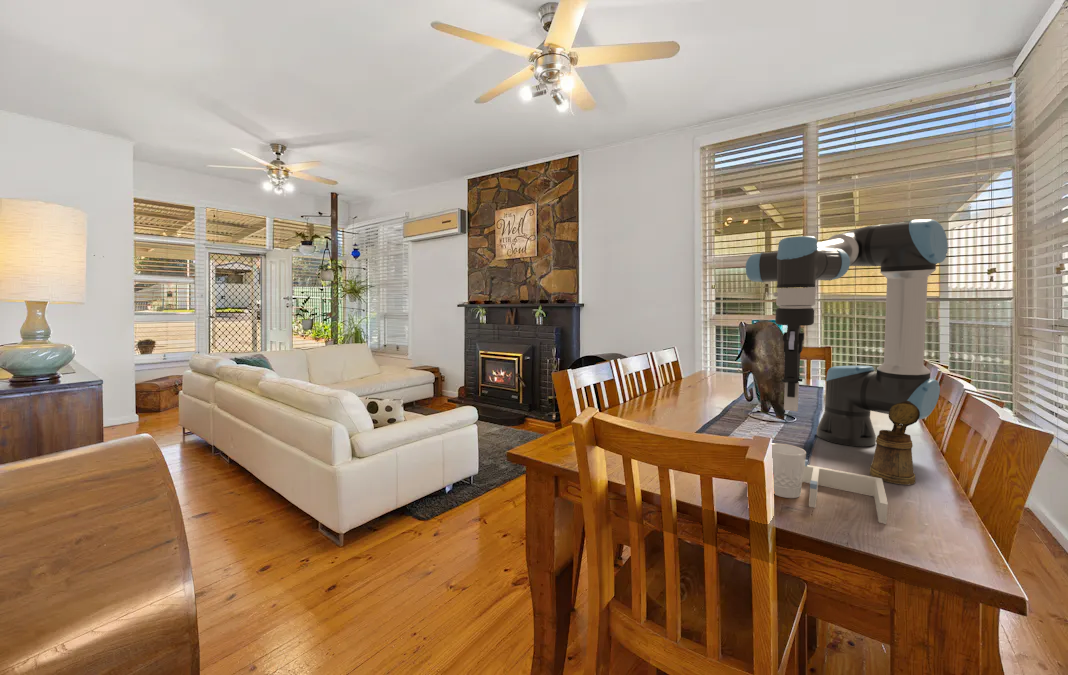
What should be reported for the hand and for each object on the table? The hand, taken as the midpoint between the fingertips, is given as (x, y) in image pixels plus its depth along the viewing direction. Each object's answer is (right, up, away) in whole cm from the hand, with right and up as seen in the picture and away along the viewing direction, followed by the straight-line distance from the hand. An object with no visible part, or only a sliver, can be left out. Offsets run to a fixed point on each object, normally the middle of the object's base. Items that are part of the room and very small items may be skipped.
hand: (790, 409), depth 103 cm
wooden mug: (+31, -18, +9) cm, 37 cm away
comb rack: (+4, -18, -3) cm, 19 cm away
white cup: (-3, -19, -1) cm, 19 cm away
